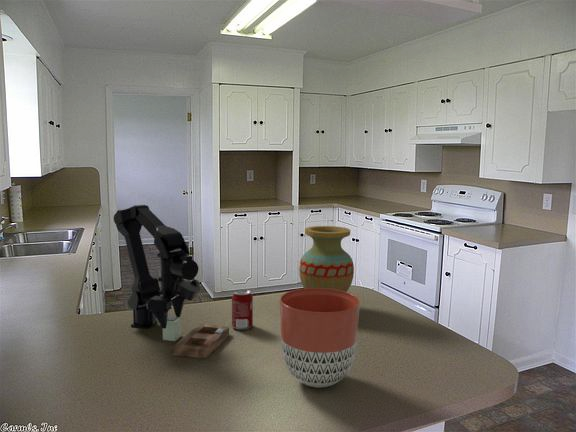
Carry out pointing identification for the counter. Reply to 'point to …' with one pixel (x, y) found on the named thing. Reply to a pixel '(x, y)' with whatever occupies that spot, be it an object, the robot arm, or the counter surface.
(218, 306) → the counter surface
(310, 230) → the vase
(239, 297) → the soda can
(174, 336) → the plug
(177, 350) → the socket block
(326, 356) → the planter
